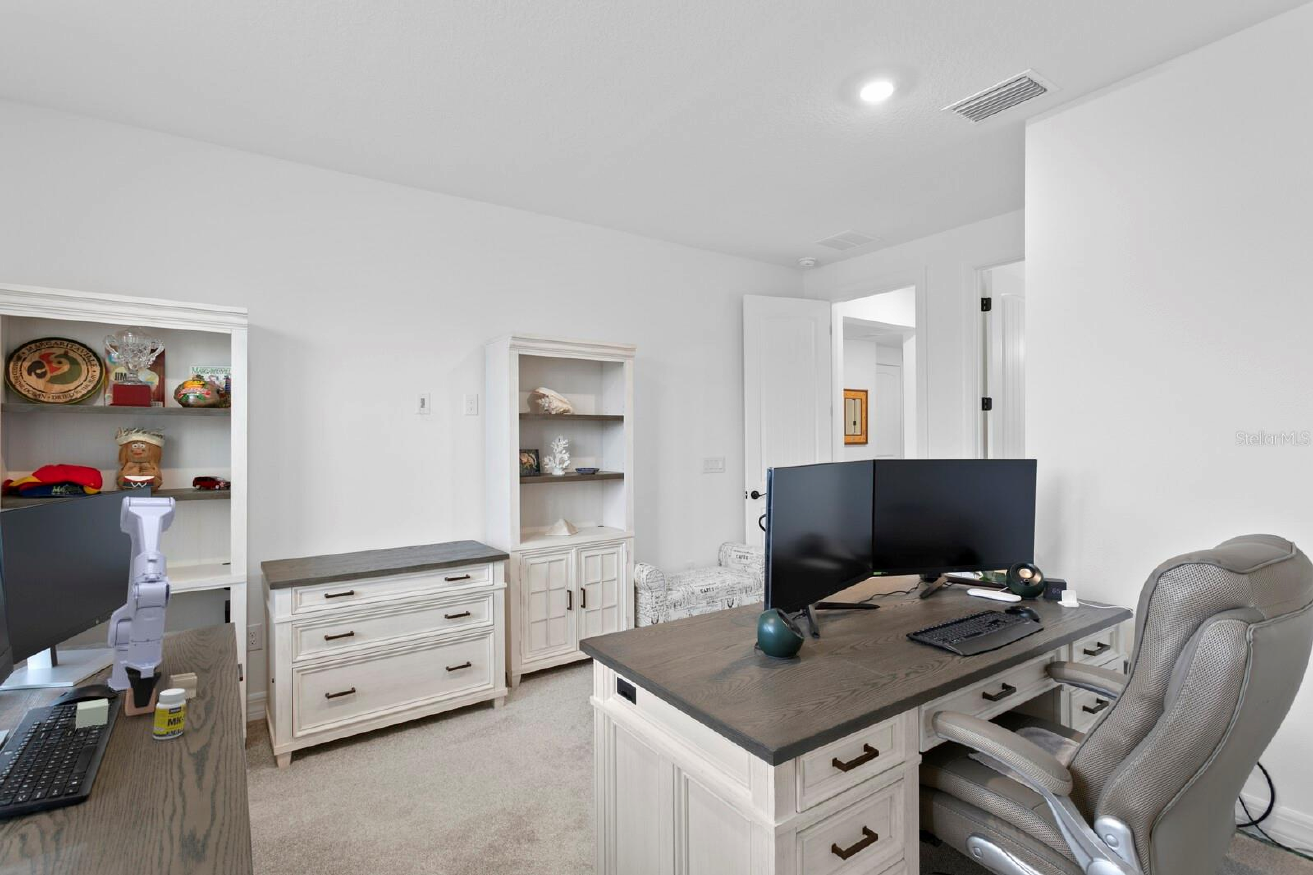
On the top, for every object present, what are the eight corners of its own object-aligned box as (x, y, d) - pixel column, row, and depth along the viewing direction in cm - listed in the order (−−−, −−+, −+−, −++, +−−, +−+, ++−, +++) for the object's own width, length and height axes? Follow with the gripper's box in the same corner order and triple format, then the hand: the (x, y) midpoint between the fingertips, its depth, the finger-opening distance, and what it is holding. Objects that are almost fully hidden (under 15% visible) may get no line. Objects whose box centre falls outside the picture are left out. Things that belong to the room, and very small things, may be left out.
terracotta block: (124, 710, 138) (126, 688, 139) (151, 705, 141) (153, 684, 142) (126, 716, 135) (128, 694, 135) (153, 712, 138) (155, 690, 138)
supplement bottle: (166, 741, 124) (170, 697, 125) (146, 738, 125) (150, 694, 126) (189, 732, 129) (193, 689, 129) (169, 729, 130) (173, 686, 130)
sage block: (75, 726, 129) (77, 703, 130) (104, 721, 132) (107, 698, 133) (76, 733, 126) (78, 709, 126) (106, 728, 129) (108, 705, 129)
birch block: (168, 696, 147) (170, 675, 148) (192, 692, 151) (194, 672, 151) (171, 701, 144) (172, 681, 144) (195, 697, 147) (197, 677, 147)
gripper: (119, 633, 142) (113, 697, 141) (125, 649, 131) (118, 717, 130) (159, 629, 146) (154, 690, 146) (168, 644, 136) (162, 710, 135)
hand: (140, 703), depth 138 cm, fingers open, 5 cm apart
